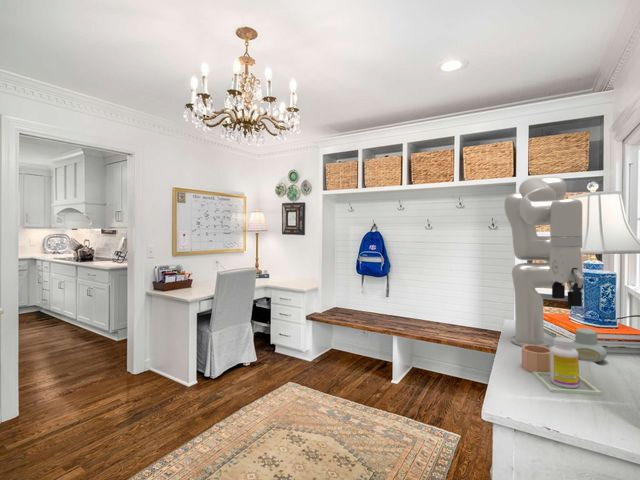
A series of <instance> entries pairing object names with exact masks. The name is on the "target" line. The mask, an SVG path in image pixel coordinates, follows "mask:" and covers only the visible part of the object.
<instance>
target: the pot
mask: <svg viewBox="0 0 640 480" xmlns="http://www.w3.org/2000/svg"><path fill="white" fill-rule="evenodd" d="M550 349H551V347H548V346H547V347H544V346H539V345H524V346H521V369H523V370H525V371H527V372H529V373H530V372H531V373H533V372H549V373H550Z"/></svg>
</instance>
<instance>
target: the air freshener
mask: <svg viewBox="0 0 640 480" xmlns="http://www.w3.org/2000/svg"><path fill="white" fill-rule="evenodd" d="M574 337H575V340H574V346H573V348H574V349H575V350H576V351H577V352H578V360H580V361H585V362H591V363H592V362H593V363H599V362H602V361H604V360H605V359H606V358H607V355H608V353H607V352H608V351H607V350H606V349H605V347H604V346H602V345H601V344H599V343H598V333H597V331H596V330H594V329H590V328H584V327H583V328H576V329H575V336H574Z"/></svg>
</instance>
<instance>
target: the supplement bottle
mask: <svg viewBox="0 0 640 480" xmlns="http://www.w3.org/2000/svg"><path fill="white" fill-rule="evenodd" d="M574 341H575V340H574V339H572V338H568V337H563V336H556V337H554V338H553V343H554V345H553V346H552V347H550V376H549V377H550V382H551V383H552V384H554V385H555V386H557V387H561V388H563V389H576V388H578V387H579V386H580V380H579V375H580V373H579V370H580V368H579V367H580V363H579V360H580V359H578V352H577V351H576V350H575V349H574V348H573V346H574Z"/></svg>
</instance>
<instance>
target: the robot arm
mask: <svg viewBox="0 0 640 480" xmlns="http://www.w3.org/2000/svg"><path fill="white" fill-rule="evenodd" d="M567 189H568V188H567V183H566V181H565V180H564V179H563V178H562V177H560V176H548V177H545V176H544V177H543V176H542V177H532V178H528V179H525V180H523V181H522V182H521V183H520V185H519V188H518V192H514V193H511V194H508V195H507V196H506V197H505V199H504V213H505V216H506V218H507V221H508V223H509V225H510V227H511V236H512V246H513V252H514V255H515V257H516V259H518V260H521V261H545V263H544V262H542V263H541V262H524V263H523V262H522V263H518V264H515V265H514V266H513V267H512V270H511V277H512V282H513V289H514V290H513V291H514V311H515V312H514V313H515V314H514V317H515V318H514V319H515V335H514V336H512V337H511V343H512V344H515V345H517V346H519V347H520V346H521V347H522V346H524V345H539V346H544V347H547V348H548V347H549V346H550V345H549V341H548V340H546V339H544V336H545V335H544V334H545V333H544V332H545V331H544V330H545V329H544V325H545V324H544V299H543V297H542V295H541V294H540V293H539V292H538V291H537V290H536V289H537V288H538V289H540V288H541V289H542V288H544V289H546V288H547V289H548V288H550V289H551V298H552V299H559V300H560V299H565V297H566V287H565V283H566V285H567V288H568V291H567V306H569V307H582V305H583V302H582V301H583V300H582V299H583V298H582V297H583V294H582V293H583V288H584V282H585V278H584V275H583V260H582V259H583V258H582V251H581V250H582V249H583V202H582V201H581V200H580V199H577V198H569V199H567V198H565V196H566V195H567ZM564 198H565V199H564ZM537 226H549V229H550V230H549V236H548V235H545V236H541V235H539V236H538V234H537Z"/></svg>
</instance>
